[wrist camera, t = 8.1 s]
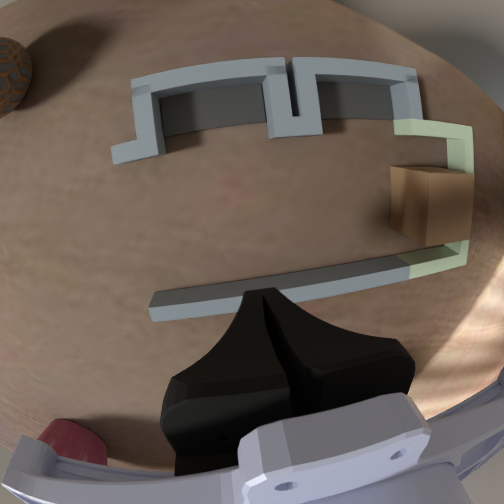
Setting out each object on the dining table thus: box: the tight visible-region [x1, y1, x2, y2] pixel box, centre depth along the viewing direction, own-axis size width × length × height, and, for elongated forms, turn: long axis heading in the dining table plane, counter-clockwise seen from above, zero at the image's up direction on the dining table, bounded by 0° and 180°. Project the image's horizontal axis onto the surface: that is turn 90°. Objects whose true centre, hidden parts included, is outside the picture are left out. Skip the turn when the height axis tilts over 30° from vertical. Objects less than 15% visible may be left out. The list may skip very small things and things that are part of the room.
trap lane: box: [111, 57, 474, 322], centre depth 18 cm, size 16×27×2 cm, turn 97°
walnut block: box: [390, 166, 475, 247], centre depth 18 cm, size 5×5×5 cm
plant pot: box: [37, 419, 107, 466], centre depth 22 cm, size 14×14×13 cm
